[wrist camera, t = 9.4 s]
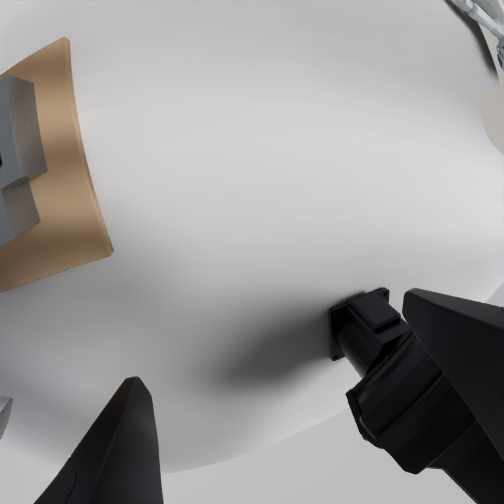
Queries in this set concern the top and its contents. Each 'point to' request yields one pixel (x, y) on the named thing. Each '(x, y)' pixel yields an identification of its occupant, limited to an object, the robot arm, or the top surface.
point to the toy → (488, 19)
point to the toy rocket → (5, 417)
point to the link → (18, 157)
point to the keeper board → (56, 180)
